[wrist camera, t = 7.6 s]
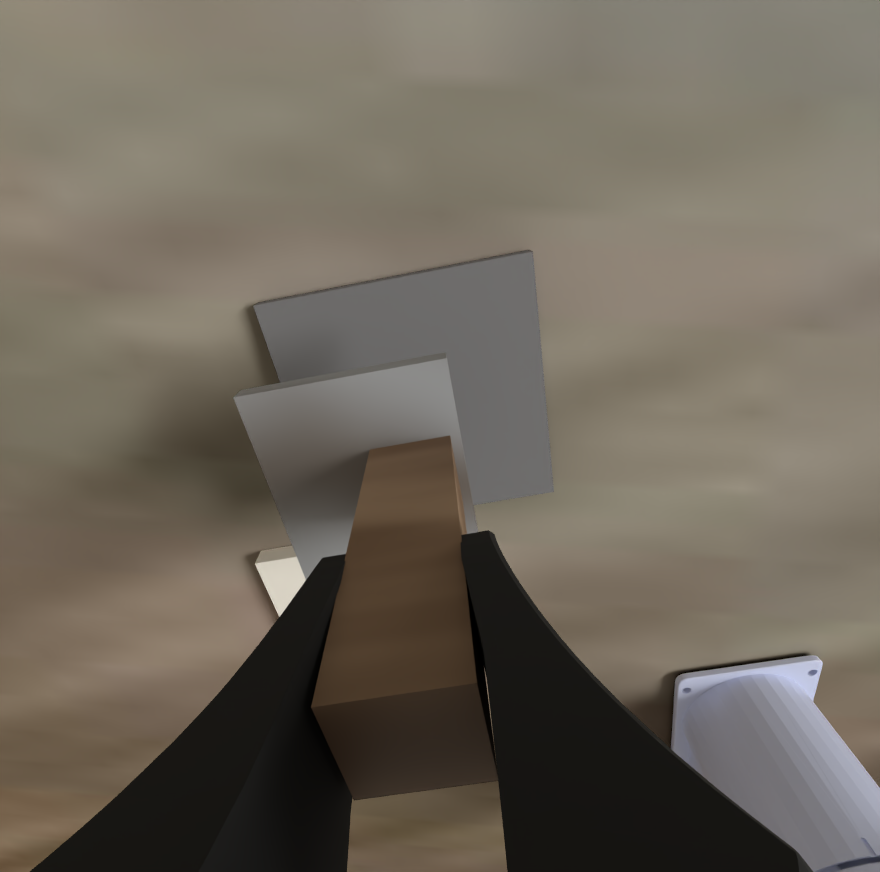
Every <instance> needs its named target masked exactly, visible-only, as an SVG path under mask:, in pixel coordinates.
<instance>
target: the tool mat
mask: <svg viewBox="0 0 880 872" xmlns="http://www.w3.org/2000/svg"><path fill="white" fill-rule="evenodd" d="M253 307H254V310H255V312H256V315H257V318H258V321H259V324H260V327H261V329H262V332H263V335H264V338H265V341H266V344H267V347H268V349H269V352H270V355H271V358H272V361H273V364H274V366H275V369H276V372H277V375H278V378H279V381H280V383H281V382H287V381H292V380H298V379H303V378H308V377H314V376H319V375H325V374H330V373H335V372H341V371H346V370H352V369H357V368H362V367H368V366H373V365H379V364H384V363H390V362H395V361H400V360H406V359H411V358H417V357H422V356H427V355H433V354H438V353H444V352H446V356H447V362H448V367H449V373H450V378H451V384H452V389H453V395H454V400H455V406H456V411H457V417H458V423H459V428H460V434H461V439H462V445H463V450H464V456H465V461H466V467H467V472H468V478H469V483H470V489H471V495H472V500H473V505H477V504H483V503H489V502H495V501H501V500H507V499H513V498H519V497H525V496H531V495H537V494H543V493H549V492H554V489H553V477H552V466H551V454H550V443H549V432H548V420H547V409H546V397H545V386H544V374H543V363H542V351H541V340H540V329H539V317H538V306H537V294H536V283H535V271H534V260H533V251H531V250H526V251H521V252H516V253H511V254H505V255H500V256H495V257H490V258H485V259H480V260H475V261H469V262H464V263H459V264H454V265H449V266H444V267H439V268H433V269H428V270H423V271H418V272H413V273H408V274H402V275H397V276H392V277H387V278H382V279H377V280H372V281H366V282H361V283H356V284H351V285H346V286H341V287H336V288H330V289H325V290H320V291H315V292H310V293H305V294H300V295H294V296H289V297H284V298H279V299H274V300H269V301H264V302H258V303H257V304H255V305H254V306H253Z"/></svg>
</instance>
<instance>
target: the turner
mask: <svg viewBox="0 0 880 872" xmlns="http://www.w3.org/2000/svg"><path fill="white" fill-rule="evenodd" d="M233 398H234V401H235V403H236V406H237V408H238V411H239V413H240V416H241V418H242V421H243V423H244V426H245V428H246V431H247V433H248V436H249V438H250V441H251V443H252V446H253V448H254V451H255V453H256V456H257V458H258V461H259V463H260V466H261V468H262V471H263V473H264V476H265V478H266V481H267V483H268V486H269V489H270V491H271V494H272V496H273V499H274V501H275V504H276V506H277V509H278V511H279V514H280V516H281V519H282V521H283V524H284V526H285V529H286V531H287V534H288V536H289V539H290V541H291V544H292V546H293V549H294V551H295V554H296V556H297V559H298V561H299V564H300V566H301V569H302V571H303V574H304V576H305V579H307V578H308V577H309V575H310V574H311V572H312V571H313V570H314V568H315V567H316V566H317V564H318V563H319V562H320V560H321V559H322V558H324V557H330V556H336V555H342V554H346V556H345V560H344V561H346V562H345V566H344V571H343V575H342V580H341V584H340V587H339V590H338V593H337V596H336V600H335V604H334V609H333V613H332V617H331V622H330V626H329V631H328V635H327V639H326V644H325V648H324V653H323V657H322V661H321V666H320V670H319V675H318V679H317V683H316V688H315V692H314V697H313V701H312V705H311V708H312V710H313V713H314V715H315V717H316V719H317V721H318V723H319V726H320V728H321V730H322V732H323V734H324V736H325V739H326V741H327V743H328V745H329V747H330V749H331V752H332V754H333V756H334V758H335V760H336V762H337V764H338V767H339V769H340V771H341V773H342V775H343V777H344V780H345V782H346V784H347V786H348V788H349V790H350V793H351V795H352V797H353V799H354V800H360V799H367V798H375V797H382V796H389V795H397V794H404V793H412V792H419V791H426V790H434V789H441V788H448V787H456V786H463V785H470V784H478V783H485V782H493V781H498V773H497V765H496V758H495V750H494V742H493V734H492V726H491V718H490V710H489V703H488V695H487V687H486V679H485V671H484V663H483V658H482V654H481V649H480V644H479V639H478V634H477V629H476V624H475V620H474V615H473V610H472V605H471V600H470V595H469V590H468V586H467V581H466V576H465V571H464V567H463V563H462V558H461V544H460V542H462V539H461V535H464V534H470V533H476V532H478V528H477V522H476V517H475V511H474V506H473V500H472V495H471V489H470V483H469V478H468V472H467V467H466V461H465V456H464V450H463V445H462V439H461V434H460V428H459V423H458V417H457V411H456V406H455V400H454V395H453V389H452V384H451V378H450V373H449V367H448V362H447V356H446V352H444V353H438V354H433V355H427V356H422V357H417V358H411V359H406V360H400V361H395V362H390V363H384V364H379V365H373V366H368V367H362V368H357V369H352V370H346V371H341V372H335V373H330V374H325V375H319V376H314V377H308V378H303V379H298V380H292V381H287V382H281V383H276V384H271V385H265V386H260V387H254V388H249V389H244V390H240V391H239V392H238V393H237V394H236V395H235V396H234V397H233Z"/></svg>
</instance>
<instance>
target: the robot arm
mask: <svg viewBox="0 0 880 872" xmlns="http://www.w3.org/2000/svg"><path fill="white" fill-rule="evenodd" d="M461 539H462V542H460V544H461V558H462V563H463V567H464V571H465V576H466V581H467V586H468V590H469V595H470V600H471V605H472V610H473V615H474V620H475V624H476V629H477V634H478V639H479V644H480V649H481V654H482V658H483V663H484V668H485V672H486V676H487V683H488V692H489V700H490V709H491V718H492V727H493V736H494V745H495V754H496V763H497V772H498V782H499V791H500V801H501V810H502V819H503V829H504V839H505V850H506V860H507V870H508V872H880V788H879V786H878V785H877V784H876V783H875V781H874V780H873V779H872V777H871V776H870V775H869V773H868V772H867V771H866V770H865V768H864V767H863V766H862V764H861V763H860V762H859V761H858V759H857V758H856V757H855V755H854V754H853V753H852V752H851V750H850V749H849V748H848V746H847V745H846V744H845V742H844V741H843V740H842V739H841V737H840V736H839V735H838V733H837V732H836V731H835V730H834V728H833V727H832V726H831V724H830V723H829V722H828V721H827V719H826V718H825V717H824V715H823V714H822V713H821V711H820V710H819V709H818V708H817V706H816V705H815V704H814V702H813V699H814V695H815V691H816V688H817V684H818V680H819V676H820V673H821V669H822V665H823V662H822V661H821V660H820V659H819V658H818V657H817V656H815V655H808V656H801V657H794V658H787V659H781V660H774V661H767V662H760V663H753V664H746V665H739V666H732V667H725V668H718V669H711V670H704V671H698V672H691V673H684V674H680V675H679V676H678V677H677V678H676V680H675V691H674V707H673V723H672V739H671V749H670V748H669V747H668V746H667V745H666V744H665V743H664V742H663V741H662V740H661V739H659V738H658V737H657V736H656V735H655V734H654V733H653V732H652V731H651V730H650V729H649V728H648V727H646V726H645V725H644V724H643V723H642V722H641V721H640V720H639V719H638V718H637V717H636V716H635V715H633V714H632V713H631V712H630V711H629V710H628V709H627V708H626V707H625V706H624V705H623V704H622V703H621V702H620V701H619V700H618V699H617V698H616V697H615V696H614V695H613V694H612V693H611V692H610V691H609V690H608V689H607V688H606V687H605V686H604V685H603V684H602V683H601V682H600V681H599V680H598V679H597V678H596V677H595V676H594V675H593V674H592V673H591V672H590V670H589V669H588V668H587V667H586V666H585V665H584V664H583V663H582V662H581V661H580V660H579V658H578V657H577V656H576V655H575V654H574V653H573V652H572V651H571V649H570V648H569V647H568V646H567V645H566V643H565V642H564V641H563V640H562V639H561V638H560V636H559V635H558V634H557V633H556V631H555V630H554V629H553V628H552V626H551V625H550V624H549V623H548V621H547V620H546V619H545V618H544V616H543V615H542V614H541V612H540V611H539V610H538V608H537V607H536V606H535V604H534V603H533V601H532V600H531V598H530V597H529V596H528V594H527V593H526V591H525V590H524V588H523V587H522V585H521V584H520V583H519V581H518V579H517V578H516V576H515V575H514V573H513V571H512V570H511V568H510V566H509V565H508V563H507V561H506V559H505V558H504V556H503V554H502V552H501V550H500V548H499V546H498V543H497V541H496V538H495V535H494V534H493V533H492V532H490V531H489V530H488V531H482V532H476V533H470V534H464V535H461ZM345 556H346V554H342V555H336V556H330V557H324V558H322V559H321V560H320V562H319V563H318V564H317V566H316V567H315V568H314V570H313V571H312V572H311V574H310V575H309V577H308V578H307V579H306V581H305V582H304V584H303V585H302V586H301V588H300V589H299V591H298V592H297V593H296V595H295V596H294V598H293V599H292V600H291V602H290V603H289V605H288V606H287V607H286V609H285V610H284V612H283V613H282V614H281V616H280V617H279V618H278V620H277V621H276V622H275V624H274V625H273V626H272V628H271V629H270V630H269V632H268V633H267V634H266V636H265V637H264V638H263V640H262V641H261V642H260V644H259V645H258V646H257V647H256V649H255V650H254V651H253V652H252V654H251V655H250V656H249V657H248V658H247V660H246V661H245V662H244V663H243V665H242V666H241V667H240V668H239V670H238V671H237V672H236V673H235V675H234V676H233V677H232V678H231V679H230V681H229V682H228V683H227V684H226V685H225V686H224V688H223V689H222V690H221V691H220V692H219V693H218V694H217V696H216V697H215V698H214V699H213V700H212V701H211V702H210V703H209V705H208V706H207V707H206V708H205V709H204V710H203V711H202V712H201V713H200V714H199V715H198V716H197V717H196V719H195V720H194V721H193V722H192V723H191V724H190V725H189V726H188V727H187V728H186V729H185V730H184V731H183V732H182V733H181V734H180V735H179V736H178V738H177V739H176V740H175V741H174V742H173V743H172V744H171V745H170V746H169V747H168V748H166V749H165V750H164V751H163V752H162V753H161V754H160V755H159V756H158V757H157V758H156V759H155V760H154V761H153V762H152V763H151V764H150V765H149V766H148V767H147V768H146V769H145V770H144V771H143V772H142V773H141V774H139V775H138V776H137V777H136V778H135V779H134V780H133V781H132V782H131V783H130V784H129V785H128V786H127V787H126V788H125V789H124V790H123V791H122V792H121V793H120V794H119V795H118V796H117V797H115V798H114V799H113V800H112V801H111V802H110V803H109V804H108V805H107V806H105V807H104V808H103V809H102V810H101V811H100V812H99V813H98V814H96V815H95V816H94V817H93V818H92V819H91V820H90V821H89V822H87V823H86V824H85V825H84V826H83V827H82V828H81V829H80V830H78V831H77V832H76V833H75V834H74V835H73V836H71V837H70V838H69V839H68V840H67V841H66V842H64V843H63V844H62V845H61V846H60V847H59V848H57V849H56V850H55V851H54V852H53V853H52V854H50V855H49V856H48V857H47V858H46V859H44V860H43V861H42V862H41V863H40V864H38V865H37V866H36V867H35V868H34V869H32V870H31V871H30V872H347V860H348V844H349V829H350V814H351V803H352V795H351V793H350V790H349V788H348V786H347V784H346V782H345V780H344V777H343V775H342V773H341V771H340V769H339V767H338V764H337V762H336V760H335V758H334V756H333V754H332V752H331V749H330V747H329V745H328V743H327V741H326V739H325V736H324V734H323V732H322V730H321V728H320V726H319V723H318V721H317V719H316V717H315V715H314V713H313V710H312V708H311V705H312V701H313V697H314V692H315V688H316V683H317V679H318V675H319V670H320V666H321V661H322V657H323V653H324V648H325V644H326V639H327V635H328V631H329V626H330V622H331V617H332V613H333V609H334V604H335V600H336V596H337V593H338V590H339V587H340V584H341V580H342V575H343V571H344V566H345V562H346V561H344V560H345Z"/></svg>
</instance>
